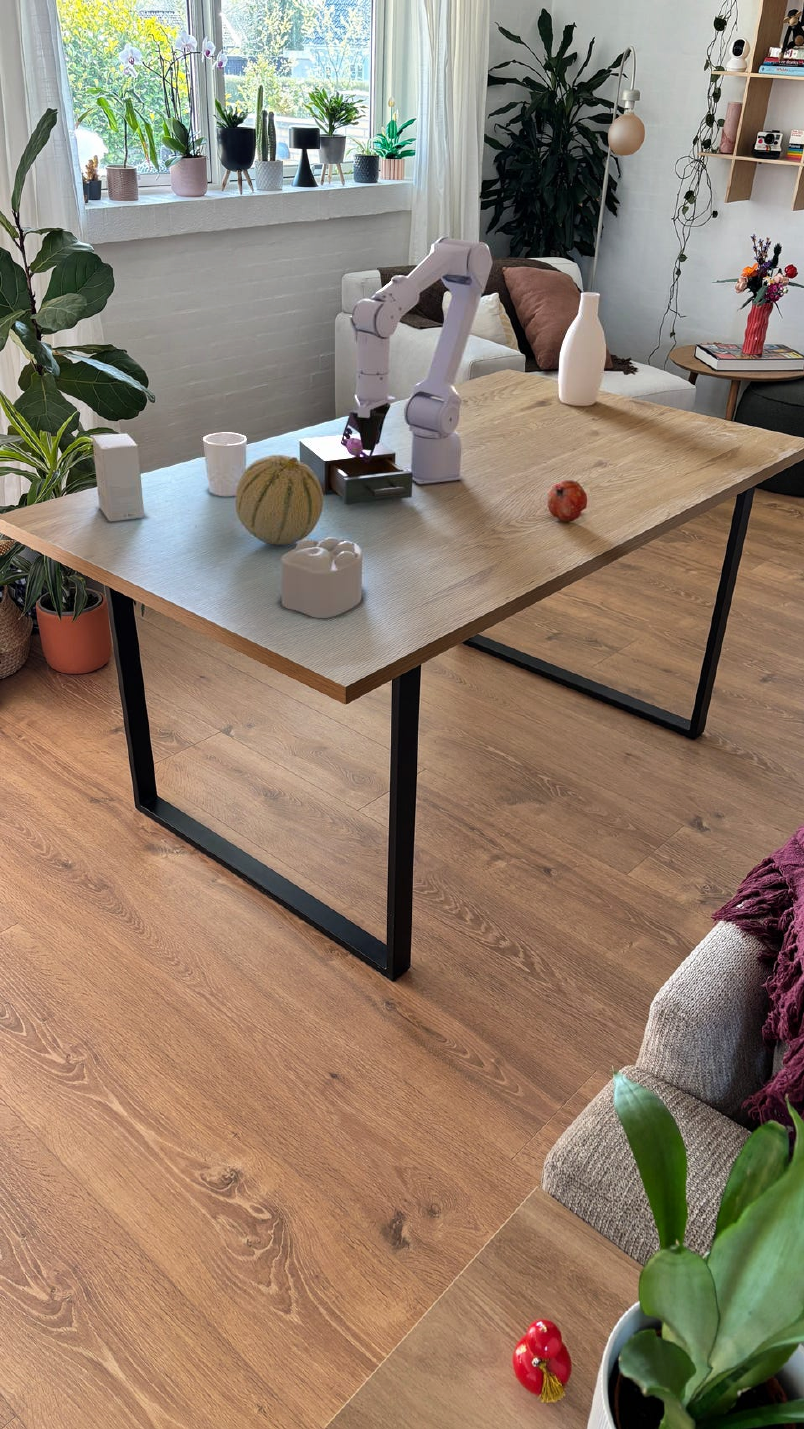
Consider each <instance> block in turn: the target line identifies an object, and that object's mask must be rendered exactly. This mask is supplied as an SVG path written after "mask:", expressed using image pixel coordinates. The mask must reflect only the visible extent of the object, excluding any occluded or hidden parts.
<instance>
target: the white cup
mask: <svg viewBox="0 0 804 1429" xmlns="http://www.w3.org/2000/svg"><path fill="white" fill-rule="evenodd" d="M202 440H203V441H202V442H203V451H204V452H203V453H204V461H205V469H206V478H207V480H208V490H209V493H210V494H212V495H214V496H219V497H236V489H237V485H238V482H239V480H240V478H241V476H242V474H243V472H244V471H245V470H246V469H247V437H246V436H245V435H243V434H240V433H235V432H215V433H210V434H208V435H205V436H204V437H203V438H202Z"/></svg>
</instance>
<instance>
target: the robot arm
mask: <svg viewBox="0 0 804 1429" xmlns="http://www.w3.org/2000/svg"><path fill="white" fill-rule="evenodd" d="M492 266H493V259H492V255H491V250H490V247H489V246H488V244H487V243H485V242H483V241H478V242H477V241H470V240H465V239H458V238H451V237H449V236H441V237H440V238H439V239H438V240H437V241H436V242H434V243H432V244H431V248H430V252H429V255H427V256H426V257H425V258H424V259H423V260H422V261H421V262H420V263H419V264H418V265H417V266H416V267H415V268H414V269H413V270H412V271H411V272H410V273H409V274H408V275H394V276H393V277H391V279H390V280H391V281H390V282H389V283H387V284H386V285H385V286H383V287H382V288H381V289H379V290H377V291H376V292H375V293H374V295H373V296H371V297H370V298H362V299H360V300H359V301H358V302H356V303H355V305H354V306H353V307H352V308H353V309H352V312H351V316H349V322H350V323H349V324H350V327H351V328H352V330H353V334H354V338H353V339H354V341H355V342H356V379H355V380H356V382H355V383H356V385H355V389H356V390H355V395H354V401H355V403H356V405H357V408H355V409H353V410H352V411H353V418H354V419H355V421H356V424H357V426H358V429H359V432H358V434H360V439H361V444H362V448H363V450H372V451H373V450H374V449H375V446H376V444H379V442H381V441H380V440H381V436H382V431H383V427H384V424H385V423H384V422H385V420H386V416H387V414H388V413H389V410H390V409H391V404H393V403H394V402H395V396H391V395H389V373H390V372H389V371H390V344H391V343H390V341H391V336H392V335H394V333H395V331H396V329H397V328H398V324H399V322H400V321H401V319H402V317H403V316H404V315H405V314H406V313H408V312H409V311H410V310H412V309H413V308H414V307H415V306H416V305H417V304H418V303H419V301H420V293H422V292H423V291H424V290H426V289H427V288H429V287H430V286H431V285H433V284H434V283H436V282H437V281H439V280H440V279H441V282H442V283H443V285H444V287H445V288H447V289H448V290H449V294H450V296H451V297H450V301H449V305H448V308H447V310H446V313H445V314H446V315H445V317H444V321H443V324H442V327H441V330H440V334H439V338H438V341H437V344H436V348H435V351H434V354H433V357H432V361H431V364H430V367H429V370H428V374H427V376H426V378H425V379H423V380H422V381H420V382H419V383H417V384H415V385H414V386H413V390H412V393H411V394H410V396H409V398H408V399H407V401H406V402H405V404H404V409H403V418H404V421H405V423H406V425H408V426H409V429H408V430H409V432H411V452H410V454H411V456H410V468H408V469H403V470H404V471H411V472H413V479H412V481H413V482H415V483H416V484H418V485H428V484H435V483H443V482H453V481H460V480H462V476H460V475H461V462H462V461H461V460H462V441H461V437H460V435H459V433H458V432H457V431H455V430H456V429H457V427H458V425H459V422H460V409H461V405H462V402H463V400H462V398H461V396H460V395H459V393H458V392H457V390H456V388H455V387H454V386H455V383H456V379H457V377H458V373H459V369H460V367H461V363H462V360H463V357H464V354H465V350H466V347H467V345H468V340H469V337H470V334H471V331H472V327H473V325H474V321H475V318H476V315H477V311H478V308H479V304H480V303H481V302H480V301H481V298H482V295H483V294H484V292H485V290H486V286H487V283H488V280H489V276H490V273H491V270H492ZM378 430H379V431H380V435H379V438H378V441H377V435H378ZM376 441H377V443H376Z"/></svg>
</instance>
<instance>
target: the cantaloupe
mask: <svg viewBox="0 0 804 1429" xmlns="http://www.w3.org/2000/svg"><path fill="white" fill-rule="evenodd" d="M234 498H235V499H234V505H235V510H236V515H237V517H238V520H239V521H240V523H241V525H242V526H243V527H244V528H245V530H246V531H247V532H248V533H249V534H250V535H252V536H253V537H254V538H256V539H257V540H258V541H261V542H262V543H267V544H268V545H269V544H270V545H278V546H279V545H280V546H285V545H286V546H287V545H291V544H294V543H298V542H299V541H301V540H303V539H306V537H308V536H309V535H310V534H311V533H312V532H313V531H314V529H315V528H316V526H317V525H318V522H319V520H320V518H321V516H322V512H323V504H324V493H323V492H322V489H321V486H320V483H319V481H318V479H317V477H316V475H315V474H314V472H313V471H312V470H311V469H310V468H309V467H308V466H307V465H305V464H304V463H302V462H300V459H298V458H297V457H295V456H289V455H284V454H271V455H267V456H264V457H262V458H259V459H257V460H255V461H253V462H252V463H251V464H249V466H246V470H245V471H244V472H243V474H242V476H241V478H240V480H239V482H238V485H237V489H236V496H235V497H234Z"/></svg>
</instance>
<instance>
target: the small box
mask: <svg viewBox="0 0 804 1429" xmlns="http://www.w3.org/2000/svg"><path fill="white" fill-rule="evenodd" d="M91 439H92V448H93V459H94V469H95V478H96V486H97V497H98V499H97V500H98V508H99V509H100V510H101V511H102V513H103V514H104V516H105V517H106V519H107V520H108V521H109V522H117V521H119V522H120V521H127V520H134V519H141V518H145V510H144V509H145V508H144V499H143V487H142V476H141V465H140V451H139V445H138V444H137V443H136V442H135V441H134V440H133V438H132V437H131V436H130V435H129V434H128V433H115V434H103V435H93V436H92V437H91Z"/></svg>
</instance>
